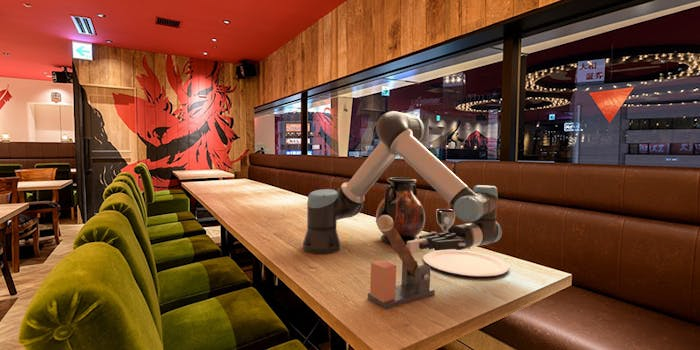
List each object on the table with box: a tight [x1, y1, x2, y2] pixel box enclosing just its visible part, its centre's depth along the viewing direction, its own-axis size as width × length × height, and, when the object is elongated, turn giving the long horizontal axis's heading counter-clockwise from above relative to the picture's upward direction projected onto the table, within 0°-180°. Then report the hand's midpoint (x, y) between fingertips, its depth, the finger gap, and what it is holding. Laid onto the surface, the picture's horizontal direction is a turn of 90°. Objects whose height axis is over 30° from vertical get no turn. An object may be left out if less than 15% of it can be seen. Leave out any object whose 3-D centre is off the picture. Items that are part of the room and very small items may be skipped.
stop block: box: [369, 259, 397, 302], centre depth 95 cm, size 4×6×9 cm
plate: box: [422, 249, 510, 278], centre depth 129 cm, size 29×29×2 cm
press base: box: [367, 260, 436, 310], centre depth 99 cm, size 18×9×8 cm, turn 124°
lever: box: [376, 215, 419, 278], centre depth 98 cm, size 4×4×23 cm
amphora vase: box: [375, 176, 426, 246], centre depth 157 cm, size 22×22×28 cm
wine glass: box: [435, 208, 456, 233], centre depth 154 cm, size 8×8×15 cm
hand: (408, 246), depth 99 cm, fingers closed
